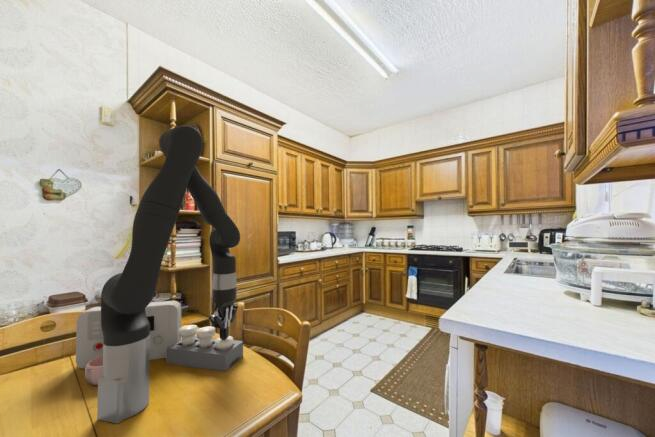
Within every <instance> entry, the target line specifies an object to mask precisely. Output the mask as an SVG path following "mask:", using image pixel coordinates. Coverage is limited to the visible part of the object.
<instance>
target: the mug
mask: <svg viewBox="0 0 655 437" xmlns="http://www.w3.org/2000/svg"><path fill="white" fill-rule="evenodd" d="M84 376H85V379H86V380H87V381H88V383H89V384H91V385H94V386H96V385H97V386H98V379H99V378H100V377H101V376H103V355H100V356H98V357H95V358H93V359H92V360H90V361H89V362H88V363H87V365H86V367H85V368H84Z"/></svg>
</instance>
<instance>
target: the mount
mask: <svg viewBox="0 0 655 437" xmlns="http://www.w3.org/2000/svg"><path fill="white" fill-rule="evenodd" d="M217 338H218V337H217ZM217 338H215V337H212V346H210V347H209V348H199V339H198V338H197V335H195V343H194V344H192V345H191V346H182V339H181V340H180V341H178V342H176V343H175V344H173V345H171V346H169V347H167V354H166V359H165V360H166V362H165V363H166V364H169V365H176V366H182V367H190V368H197V369H206V370H211V371H219V372H220V371H221V372H227V371H228V370H229V369H230V368H231V367H232V366H234V364H236V363H237V362H238V361H239V360H240V359H241V358H243V357H244V341H243V340H236V339H233V346H231V348H229V349H228V350H227V351H224V350H218V349H216V348H215V340H216V339H217Z"/></svg>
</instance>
